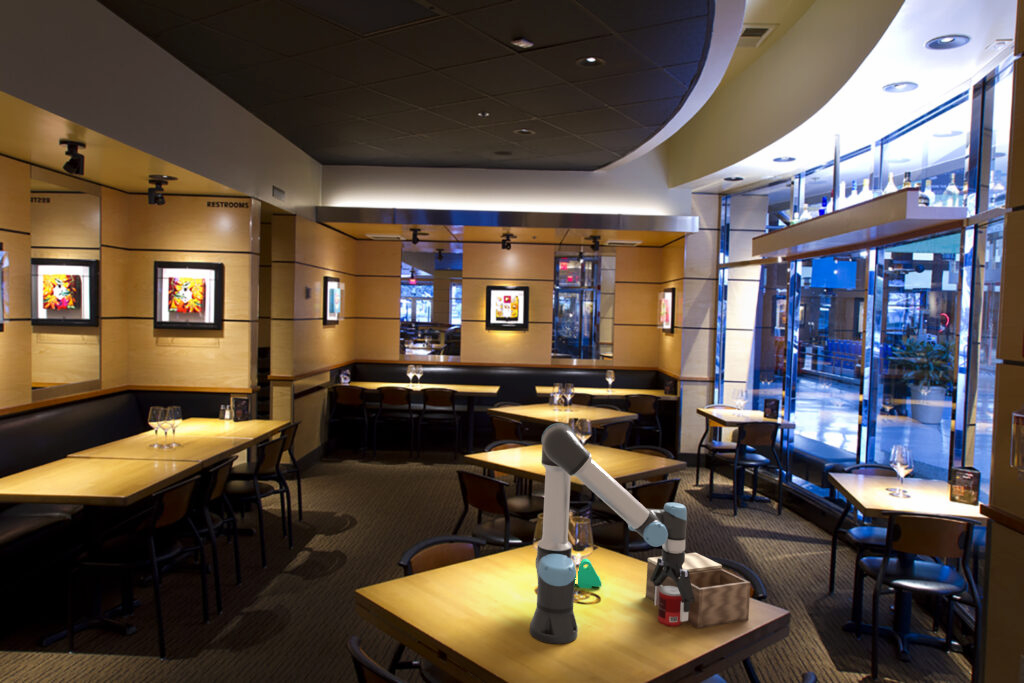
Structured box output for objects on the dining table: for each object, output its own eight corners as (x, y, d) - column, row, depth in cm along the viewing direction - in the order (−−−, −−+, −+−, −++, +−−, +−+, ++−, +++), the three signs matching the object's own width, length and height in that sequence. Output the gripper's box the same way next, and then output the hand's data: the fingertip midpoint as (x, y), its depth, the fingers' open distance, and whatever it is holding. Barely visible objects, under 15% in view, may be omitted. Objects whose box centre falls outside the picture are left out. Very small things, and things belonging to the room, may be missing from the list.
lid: (672, 574, 231) (673, 562, 231) (647, 560, 244) (648, 549, 244) (721, 567, 241) (722, 556, 241) (695, 555, 254) (695, 544, 254)
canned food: (685, 622, 223) (687, 590, 223) (673, 629, 217) (675, 596, 217) (665, 615, 228) (667, 583, 228) (653, 621, 222) (655, 589, 222)
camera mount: (598, 582, 257) (600, 555, 257) (600, 589, 249) (602, 562, 249) (567, 580, 257) (569, 554, 257) (569, 587, 250) (570, 560, 250)
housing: (697, 628, 219) (699, 589, 219) (645, 596, 244) (647, 561, 244) (748, 619, 228) (750, 582, 228) (693, 589, 254) (695, 555, 254)
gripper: (707, 560, 213) (704, 626, 213) (659, 538, 235) (656, 597, 236) (689, 563, 210) (686, 629, 210) (642, 539, 232) (639, 599, 232)
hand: (670, 612), depth 223 cm, fingers open, 13 cm apart
